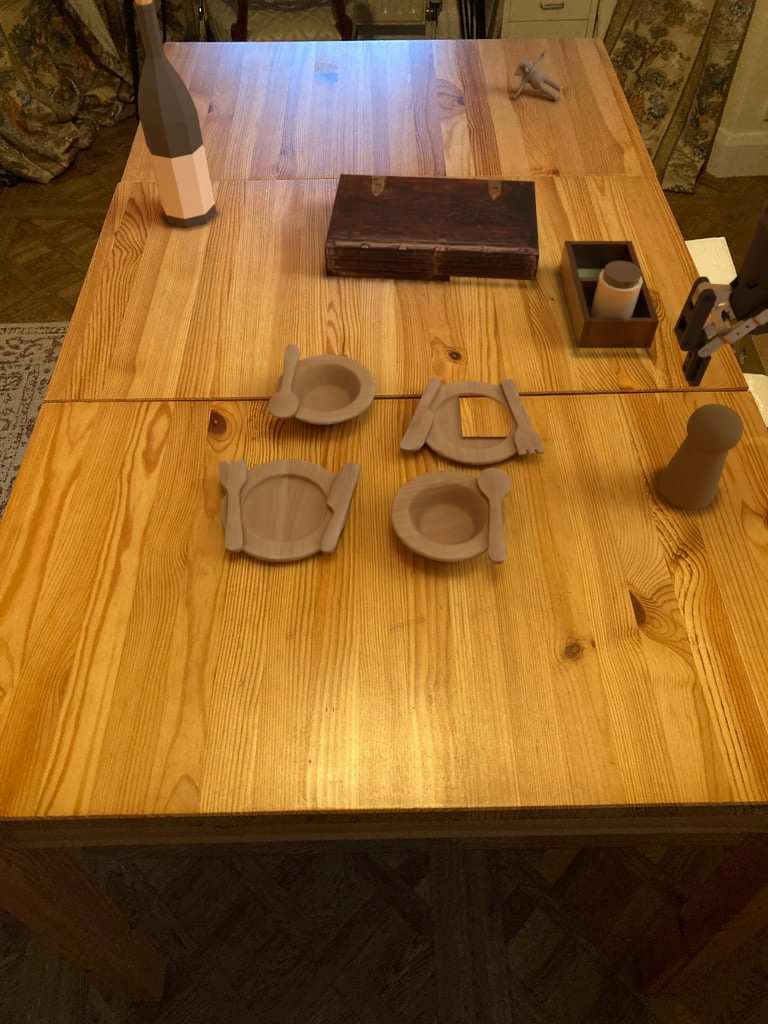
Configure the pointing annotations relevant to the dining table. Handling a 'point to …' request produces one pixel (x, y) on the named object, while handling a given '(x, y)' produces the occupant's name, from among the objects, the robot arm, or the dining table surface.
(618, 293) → the spice pot
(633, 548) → the dining table surface
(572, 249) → the box
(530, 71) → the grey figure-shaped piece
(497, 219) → the hardback book
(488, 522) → the tableware set
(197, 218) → the wine bottle
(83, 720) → the dining table surface
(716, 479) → the pepper mill
